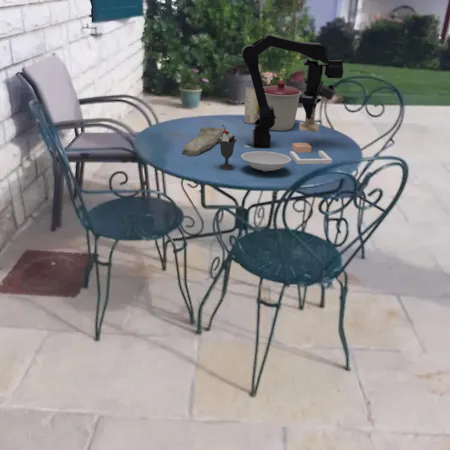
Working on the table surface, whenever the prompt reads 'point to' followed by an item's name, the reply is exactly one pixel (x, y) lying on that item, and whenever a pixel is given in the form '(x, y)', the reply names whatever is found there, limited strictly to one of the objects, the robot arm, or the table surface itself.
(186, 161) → the table surface
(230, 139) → the sundae
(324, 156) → the corral
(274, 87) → the canister
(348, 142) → the table surface
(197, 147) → the elongated rock
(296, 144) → the tile
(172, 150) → the table surface
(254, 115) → the aerosol can
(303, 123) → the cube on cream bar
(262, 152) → the dish
